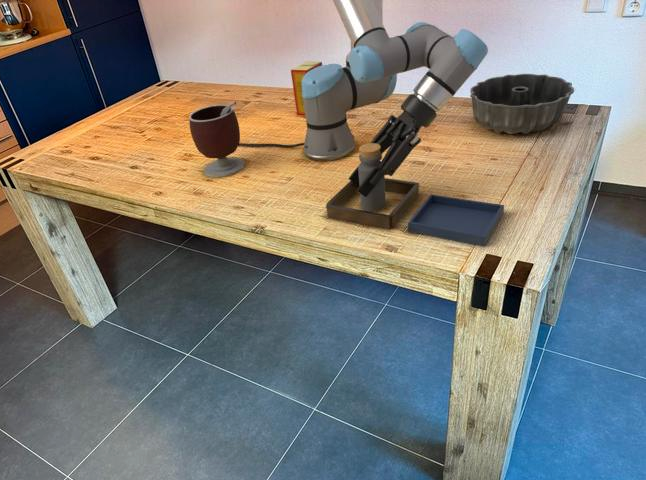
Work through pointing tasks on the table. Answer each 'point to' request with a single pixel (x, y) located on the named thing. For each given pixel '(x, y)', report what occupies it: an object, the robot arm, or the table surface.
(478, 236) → the tray
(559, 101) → the bundt pan
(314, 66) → the baking soda box
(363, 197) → the bottle
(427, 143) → the table surface
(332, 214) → the dark brown square frame
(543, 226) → the table surface
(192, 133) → the mate gourd
